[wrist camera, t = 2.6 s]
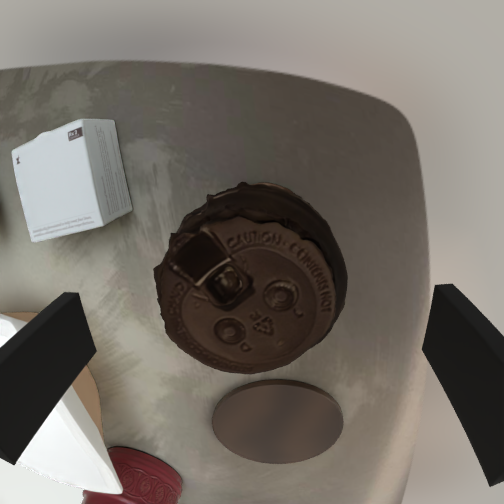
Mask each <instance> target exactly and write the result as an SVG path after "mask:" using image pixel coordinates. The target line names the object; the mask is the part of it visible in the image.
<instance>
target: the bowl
mask: <svg viewBox="0 0 504 504" xmlns="http://www.w3.org/2000/svg"><path fill="white" fill-rule="evenodd" d="M38 314H39V313H33V312H11V313H0V347H1V346H2V345H4V344H5V343H6V342H7V341H8V340H9V339H10V338H11V337H12V336H14V335H15V334H16V333H17V332H18V331H19V330H20V329H21V328H23V327H24V326H25V325H26V324H27V323H28V322H29V321H31V320H32V319H33V318H34V317H35V316H36V315H38ZM16 463H18V464H20V465H22V466H23V467H25V468H27V469H29V470H31V471H34V472H36V473H38V474H40V475H42V476H45V477H47V478H49V479H52V480H54V481H57V482H60V483H63V484H67V485H70V486H74V487H77V488H81V489H85V490H89V491H94V492H102V493H110V494H121V493H122V491H123V487H122V485H121V483H120V481H119V479H118V476H117V474H116V472H115V469H114V467H113V465H112V462H111V460H110V457H109V455H108V452H107V450H106V447H105V444H104V436H103V427H102V419H101V409H100V397H99V393H98V390H97V386H96V383H95V381H94V379H93V377H92V375H91V373H90V371H89V369H88V367H87V365H86V366H85V367H84V369H83V370H82V371H81V372H80V374H79V375H78V376H77V378H76V379H75V380H74V382H73V383H72V384H71V386H70V387H69V388H68V390H67V391H66V392H65V394H64V395H63V397H62V398H61V399H60V401H59V402H58V403H57V405H56V406H55V408H54V409H53V410H52V412H51V413H50V414H49V416H48V417H47V419H46V420H45V421H44V423H43V424H42V426H41V427H40V429H39V430H38V431H37V433H36V434H35V436H34V437H33V439H32V440H31V441H30V443H29V444H28V446H27V447H26V449H25V450H24V452H23V453H22V455H21V456H20V458H19V459H18V461H17V462H16Z"/></svg>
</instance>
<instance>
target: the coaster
mask: <svg viewBox="0 0 504 504" xmlns="http://www.w3.org/2000/svg"><path fill="white" fill-rule="evenodd" d="M212 425H213V430H214V433H215V435H216V437H217V438H218V440H219V441H220V442H221V443H222V444H223V445H224V446H225V447H226V448H227V449H229V450H230V451H232V452H233V453H235V454H237V455H239V456H241V457H244V458H246V459H249V460H253V461H257V462H262V463H270V464H287V463H294V462H300V461H304V460H307V459H310V458H313V457H315V456H317V455H319V454H321V453H323V452H324V451H326V450H327V449H329V448H330V447H331V446H332V445H333V444H334V443H335V442H336V441H337V439H338V438H339V436H340V434H341V432H342V429H343V416H342V411H341V408H340V406H339V405H338V403H337V402H336V401H335V400H334V398H333V397H332V396H330V395H329V394H328V393H326V392H325V391H323V390H321V389H319V388H317V387H315V386H312V385H309V384H306V383H302V382H298V381H291V380H265V381H258V382H253V383H249V384H246V385H243V386H241V387H238V388H236V389H234V390H233V391H231V392H229V393H228V394H227V395H225V396H224V397H223V398H222V399H221V400H220V402H219V403H218V404H217V406H216V408H215V411H214V414H213V419H212Z"/></svg>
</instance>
